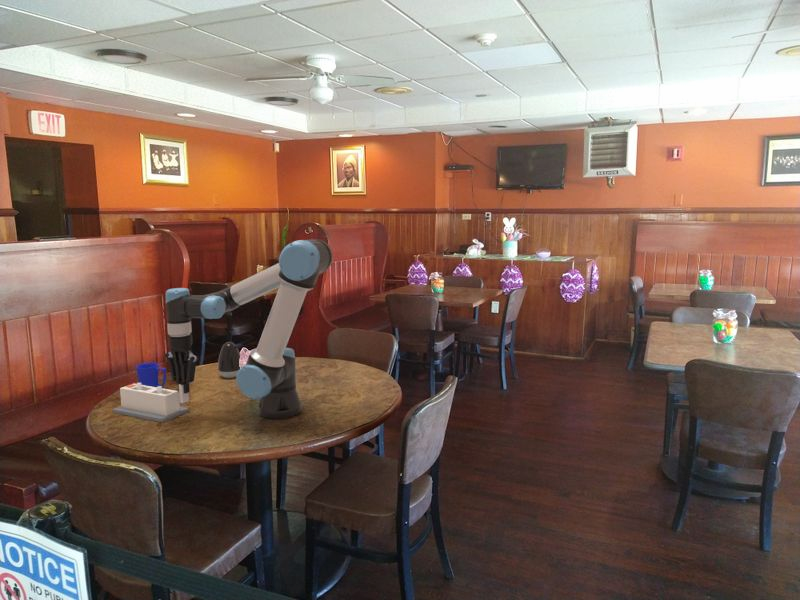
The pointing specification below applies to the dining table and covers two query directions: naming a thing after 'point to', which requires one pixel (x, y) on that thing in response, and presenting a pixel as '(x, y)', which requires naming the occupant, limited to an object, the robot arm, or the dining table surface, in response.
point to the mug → (150, 374)
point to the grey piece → (147, 414)
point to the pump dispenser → (229, 360)
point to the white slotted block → (150, 399)
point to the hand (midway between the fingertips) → (184, 401)
